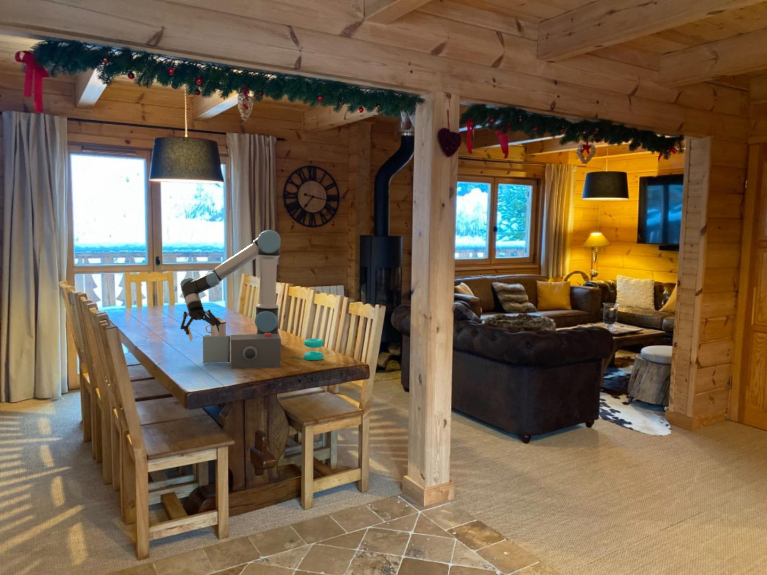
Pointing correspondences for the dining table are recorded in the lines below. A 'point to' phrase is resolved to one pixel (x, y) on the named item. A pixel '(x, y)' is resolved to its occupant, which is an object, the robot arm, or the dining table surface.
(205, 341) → the side door
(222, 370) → the dining table surface
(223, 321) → the teacup with lid
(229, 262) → the robot arm
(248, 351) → the camera body
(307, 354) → the donuts
